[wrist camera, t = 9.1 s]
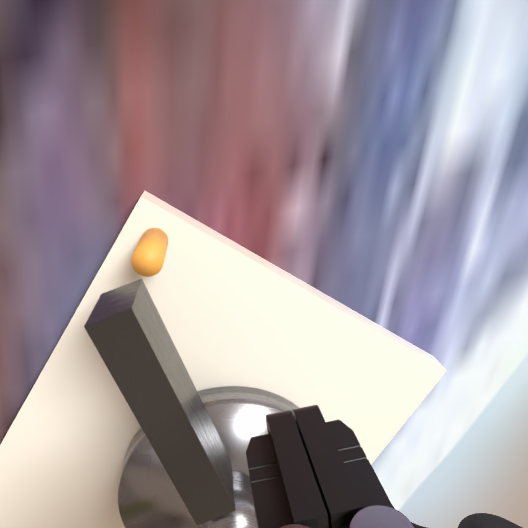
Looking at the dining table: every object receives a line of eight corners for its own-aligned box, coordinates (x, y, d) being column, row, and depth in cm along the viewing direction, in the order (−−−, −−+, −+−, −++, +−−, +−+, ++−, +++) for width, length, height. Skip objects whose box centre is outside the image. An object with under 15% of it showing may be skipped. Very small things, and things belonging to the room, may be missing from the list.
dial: (346, 504, 26) (374, 580, 22) (172, 572, 26) (167, 661, 22) (241, 230, 20) (253, 262, 16) (11, 317, 20) (-39, 373, 16)
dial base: (235, 606, 30) (241, 685, 26) (-43, 522, 25) (-92, 604, 21) (433, 356, 26) (478, 404, 22) (144, 190, 21) (130, 211, 16)
